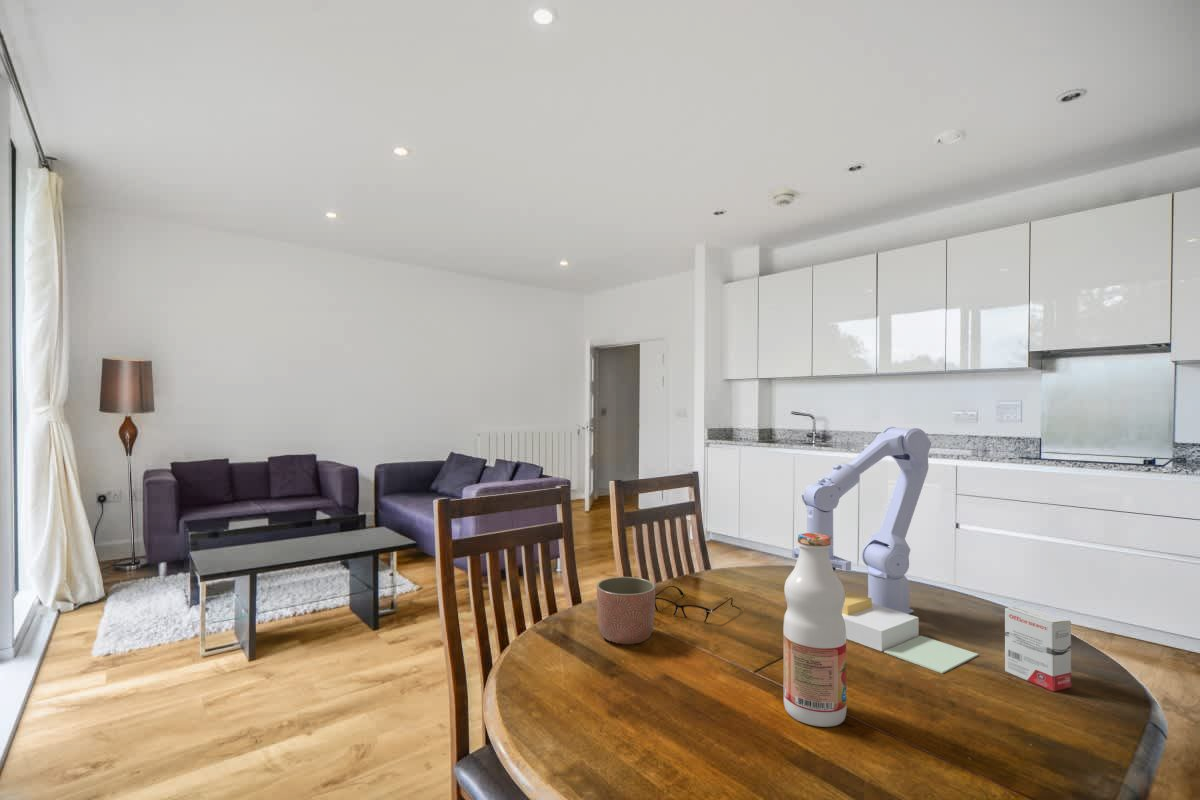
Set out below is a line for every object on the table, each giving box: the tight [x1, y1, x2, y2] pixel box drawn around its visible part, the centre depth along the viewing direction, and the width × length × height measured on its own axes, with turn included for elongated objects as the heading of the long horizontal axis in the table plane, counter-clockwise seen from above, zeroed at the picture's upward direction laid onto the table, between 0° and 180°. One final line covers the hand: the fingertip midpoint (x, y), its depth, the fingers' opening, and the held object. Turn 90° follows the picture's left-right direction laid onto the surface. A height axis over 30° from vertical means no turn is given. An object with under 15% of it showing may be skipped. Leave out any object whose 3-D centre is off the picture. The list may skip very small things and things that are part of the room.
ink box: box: [1004, 605, 1072, 692], centre depth 104 cm, size 8×5×12 cm, turn 20°
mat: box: [883, 635, 979, 674], centre depth 114 cm, size 14×11×1 cm
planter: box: [596, 576, 656, 645], centre depth 122 cm, size 12×12×11 cm
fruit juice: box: [782, 532, 847, 728], centre depth 92 cm, size 9×9×28 cm
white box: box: [842, 604, 920, 652], centre depth 128 cm, size 14×22×4 cm, turn 34°
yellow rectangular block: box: [842, 590, 872, 615], centre depth 129 cm, size 9×6×2 cm, turn 124°
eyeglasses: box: [655, 585, 734, 623], centre depth 140 cm, size 16×16×4 cm
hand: (820, 594), depth 135 cm, fingers closed
